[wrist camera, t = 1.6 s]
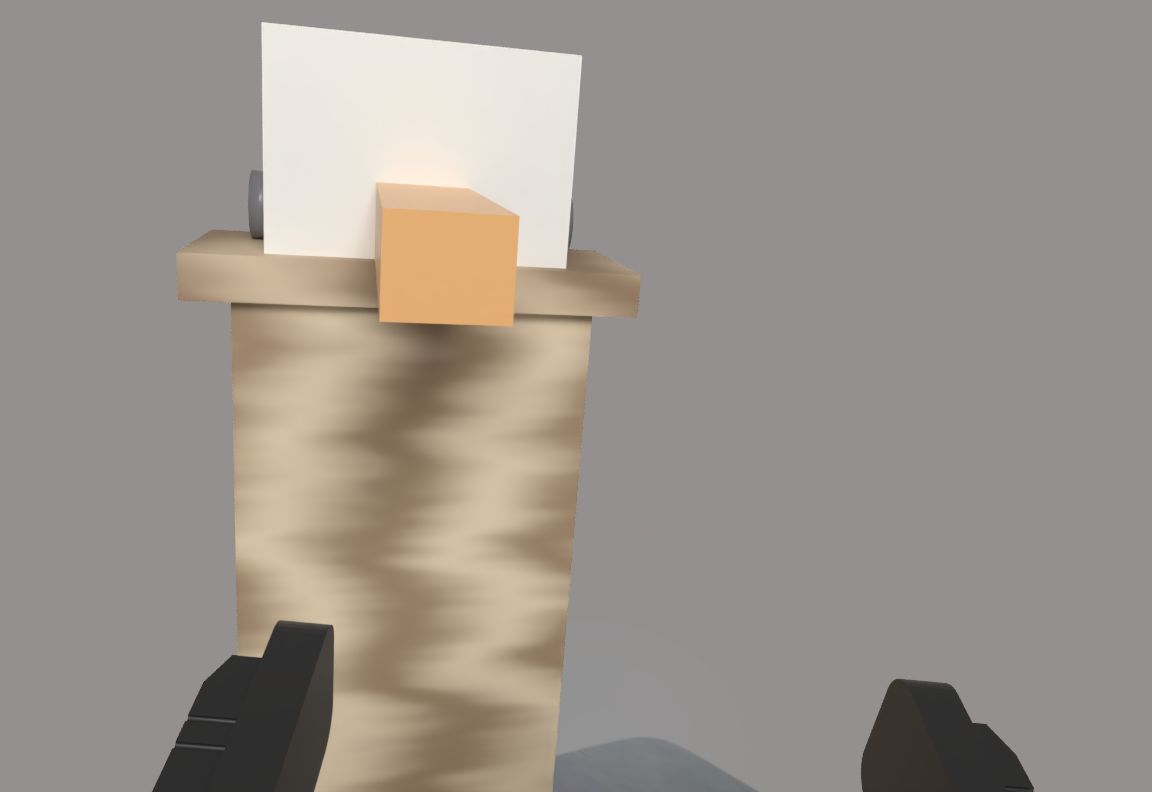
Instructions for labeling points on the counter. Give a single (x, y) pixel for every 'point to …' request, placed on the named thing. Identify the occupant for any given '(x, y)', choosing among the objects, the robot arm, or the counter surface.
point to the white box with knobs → (417, 165)
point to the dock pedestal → (411, 504)
